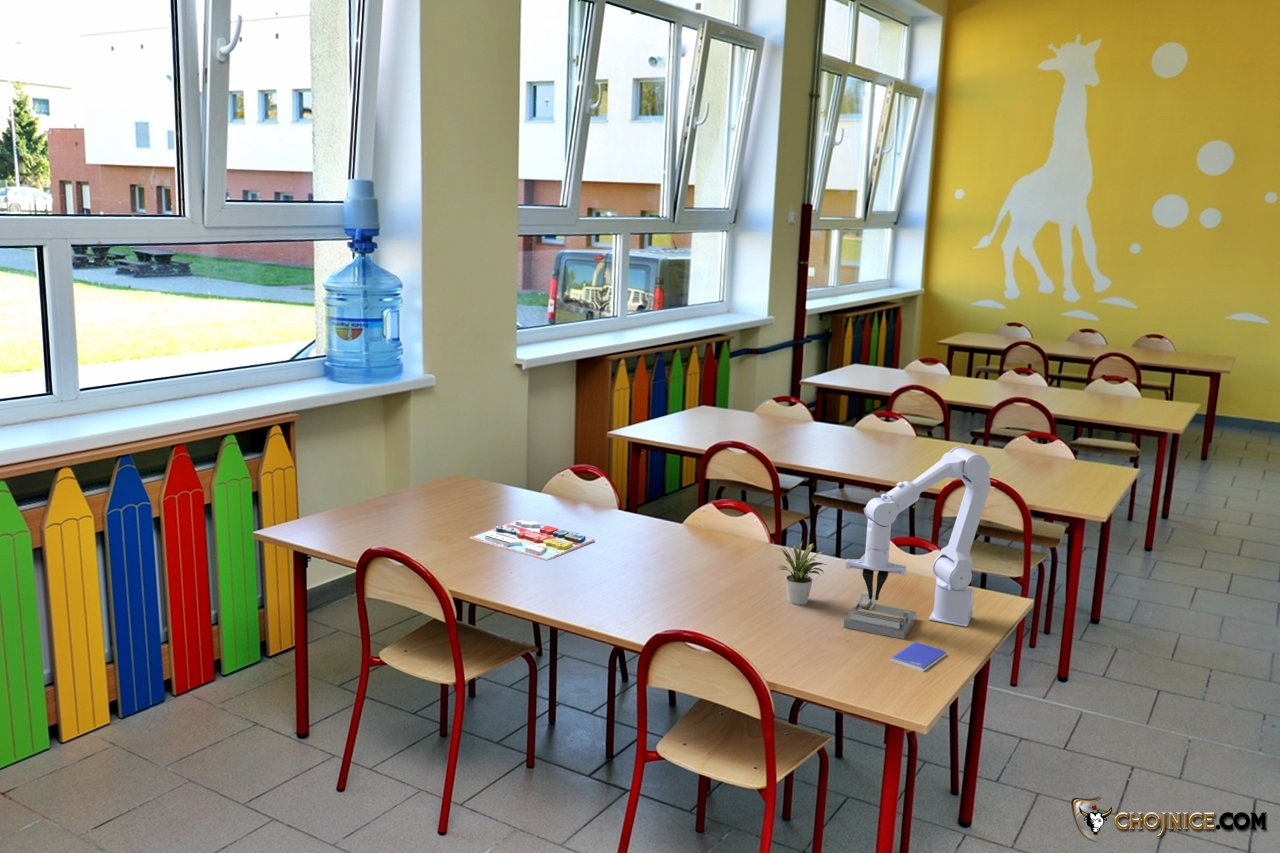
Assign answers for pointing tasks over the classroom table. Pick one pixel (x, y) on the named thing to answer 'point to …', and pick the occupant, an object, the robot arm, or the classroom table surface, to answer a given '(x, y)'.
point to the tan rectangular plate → (879, 613)
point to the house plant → (800, 575)
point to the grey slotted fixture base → (880, 620)
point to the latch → (866, 599)
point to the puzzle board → (532, 539)
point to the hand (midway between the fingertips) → (873, 598)
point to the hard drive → (918, 656)
